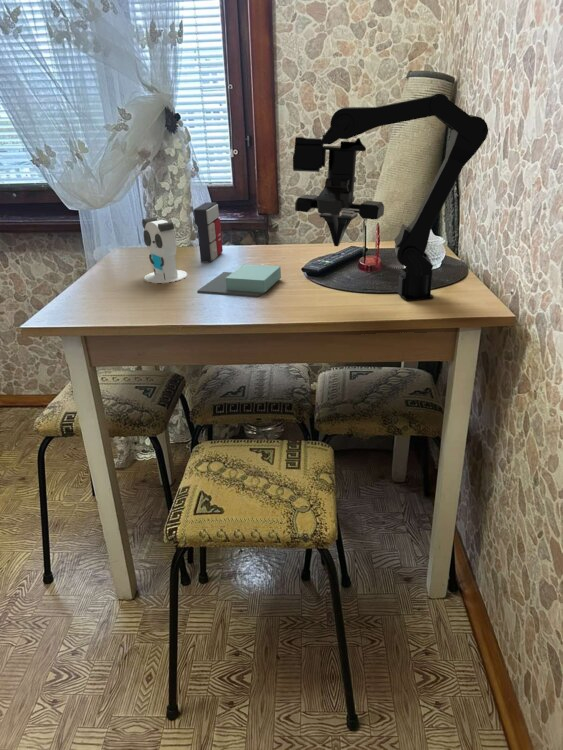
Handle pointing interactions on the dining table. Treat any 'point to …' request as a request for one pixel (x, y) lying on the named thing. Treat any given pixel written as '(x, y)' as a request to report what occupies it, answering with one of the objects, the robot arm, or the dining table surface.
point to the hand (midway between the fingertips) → (336, 245)
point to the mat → (224, 287)
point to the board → (253, 278)
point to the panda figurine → (161, 251)
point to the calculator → (208, 231)
